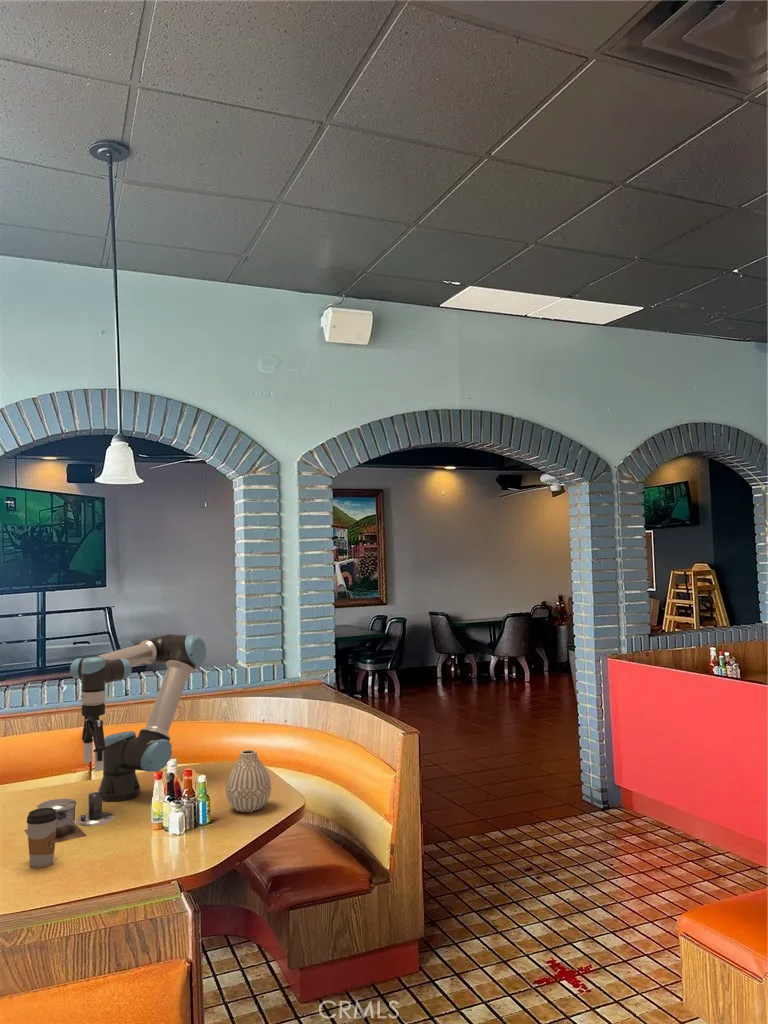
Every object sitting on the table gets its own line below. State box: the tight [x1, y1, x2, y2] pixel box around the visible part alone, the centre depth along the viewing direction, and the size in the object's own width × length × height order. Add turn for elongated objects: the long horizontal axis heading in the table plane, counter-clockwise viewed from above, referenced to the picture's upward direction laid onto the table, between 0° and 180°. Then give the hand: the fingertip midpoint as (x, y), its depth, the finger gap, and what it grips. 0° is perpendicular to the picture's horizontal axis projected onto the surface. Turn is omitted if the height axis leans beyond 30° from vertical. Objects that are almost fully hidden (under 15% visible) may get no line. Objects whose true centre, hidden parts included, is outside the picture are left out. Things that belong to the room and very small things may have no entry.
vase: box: [225, 749, 272, 813], centre depth 274 cm, size 16×16×20 cm
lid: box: [75, 791, 115, 827], centre depth 263 cm, size 12×12×10 cm
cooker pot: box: [36, 798, 77, 838], centre depth 251 cm, size 16×12×9 cm
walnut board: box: [23, 823, 88, 844], centre depth 251 cm, size 15×19×1 cm
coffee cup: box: [26, 808, 57, 869], centre depth 228 cm, size 8×8×15 cm
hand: (93, 766), depth 263 cm, fingers open, 13 cm apart
